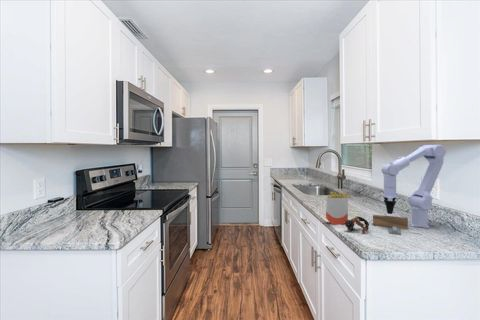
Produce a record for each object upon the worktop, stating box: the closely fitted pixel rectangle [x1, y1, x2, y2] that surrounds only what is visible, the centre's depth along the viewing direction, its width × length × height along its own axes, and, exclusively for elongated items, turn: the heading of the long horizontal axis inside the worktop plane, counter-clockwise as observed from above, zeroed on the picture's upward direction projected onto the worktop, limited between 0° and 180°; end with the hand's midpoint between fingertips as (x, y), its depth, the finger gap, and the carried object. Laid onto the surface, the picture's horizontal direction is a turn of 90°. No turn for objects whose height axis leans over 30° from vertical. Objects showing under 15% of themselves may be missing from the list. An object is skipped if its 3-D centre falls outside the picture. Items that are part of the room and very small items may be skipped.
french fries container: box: [325, 191, 349, 226], centre depth 145 cm, size 5×11×18 cm, turn 84°
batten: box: [372, 214, 409, 230], centre depth 137 cm, size 4×16×6 cm, turn 61°
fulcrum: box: [388, 226, 402, 236], centre depth 128 cm, size 7×5×2 cm
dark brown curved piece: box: [344, 215, 370, 234], centre depth 131 cm, size 12×10×8 cm
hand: (389, 212), depth 137 cm, fingers open, 7 cm apart
